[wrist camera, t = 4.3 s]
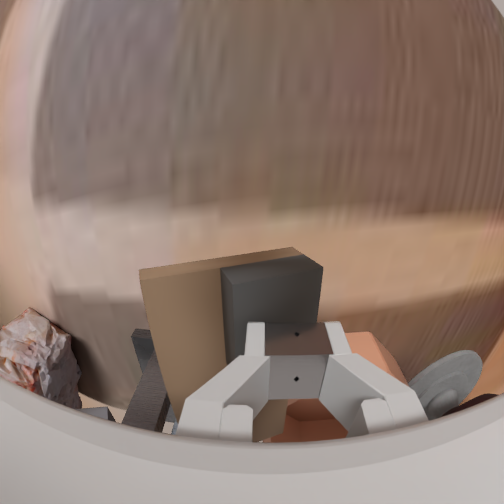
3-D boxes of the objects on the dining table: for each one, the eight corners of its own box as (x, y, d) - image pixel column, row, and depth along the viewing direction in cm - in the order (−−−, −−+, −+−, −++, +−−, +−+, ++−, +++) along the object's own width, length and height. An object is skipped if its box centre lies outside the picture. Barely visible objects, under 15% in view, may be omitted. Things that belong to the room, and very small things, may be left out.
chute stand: (163, 413, 24) (135, 507, 13) (135, 328, 20) (70, 447, 9) (221, 419, 23) (208, 522, 13) (211, 334, 20) (178, 478, 9)
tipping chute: (82, 449, 16) (90, 529, 9) (-20, 256, 9) (-98, 342, 2) (247, 421, 21) (289, 495, 14) (244, 216, 15) (347, 282, 8)
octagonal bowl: (262, 421, 23) (261, 459, 19) (265, 335, 19) (266, 380, 15) (371, 413, 23) (381, 446, 19) (405, 328, 19) (429, 364, 15)
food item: (21, 291, 19) (-43, 348, 10) (83, 323, 20) (22, 402, 11) (42, 380, 24) (7, 433, 15) (95, 408, 25) (64, 471, 16)
